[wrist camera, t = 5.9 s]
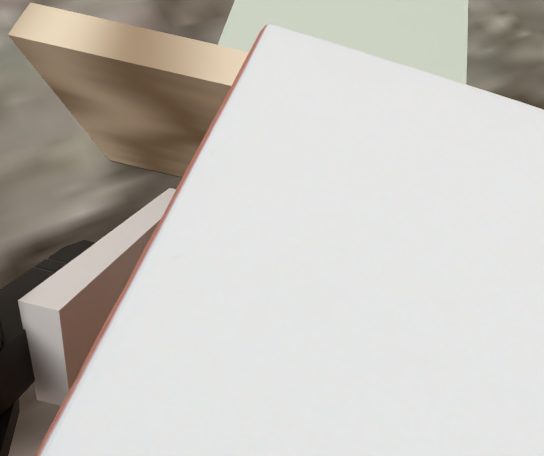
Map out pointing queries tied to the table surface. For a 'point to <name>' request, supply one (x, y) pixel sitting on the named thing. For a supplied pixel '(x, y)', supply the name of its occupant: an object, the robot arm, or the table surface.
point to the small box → (332, 276)
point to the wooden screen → (130, 83)
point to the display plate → (366, 28)
